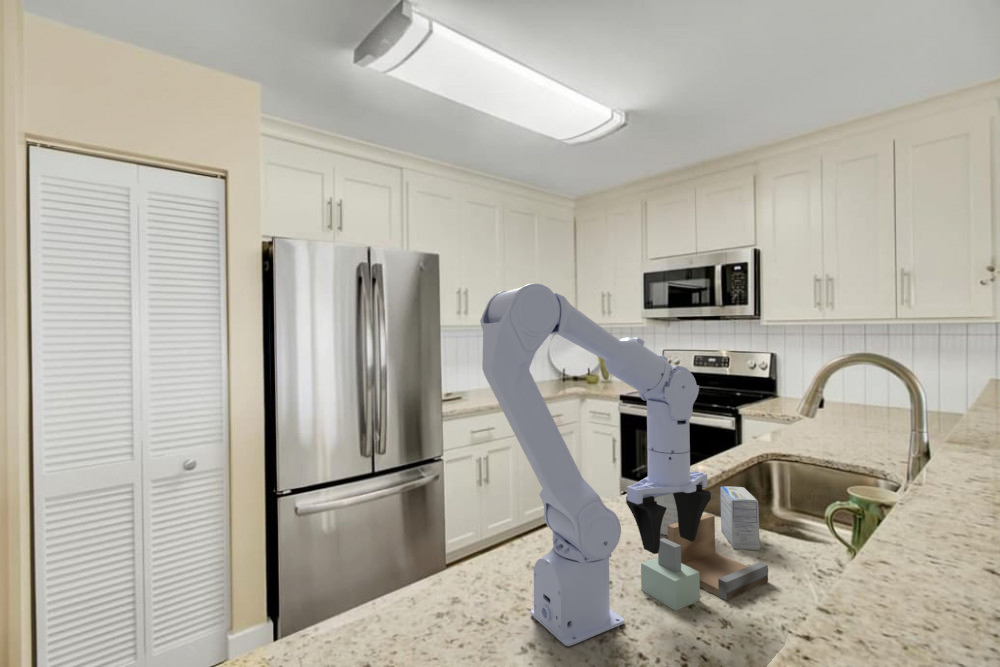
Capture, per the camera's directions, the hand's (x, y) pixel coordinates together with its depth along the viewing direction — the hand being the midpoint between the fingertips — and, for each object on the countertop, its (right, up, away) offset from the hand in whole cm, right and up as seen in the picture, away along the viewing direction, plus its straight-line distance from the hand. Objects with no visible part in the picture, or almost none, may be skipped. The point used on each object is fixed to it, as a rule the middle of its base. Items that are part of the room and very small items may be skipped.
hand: (669, 544), depth 66 cm
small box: (+8, -8, +22) cm, 25 cm away
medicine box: (+19, -8, +18) cm, 27 cm away
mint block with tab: (0, -7, 0) cm, 7 cm away
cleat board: (+9, -7, +5) cm, 13 cm away
